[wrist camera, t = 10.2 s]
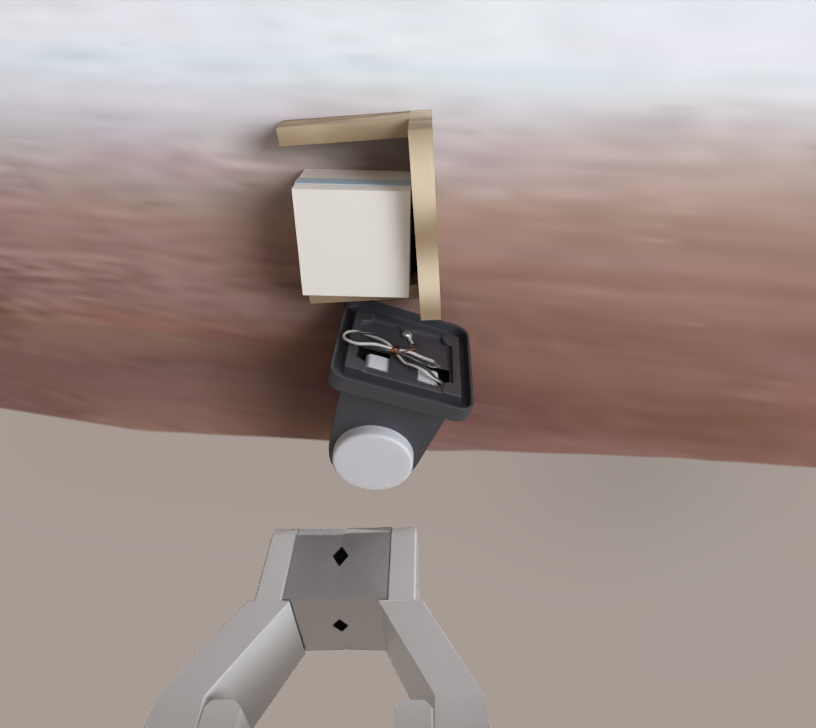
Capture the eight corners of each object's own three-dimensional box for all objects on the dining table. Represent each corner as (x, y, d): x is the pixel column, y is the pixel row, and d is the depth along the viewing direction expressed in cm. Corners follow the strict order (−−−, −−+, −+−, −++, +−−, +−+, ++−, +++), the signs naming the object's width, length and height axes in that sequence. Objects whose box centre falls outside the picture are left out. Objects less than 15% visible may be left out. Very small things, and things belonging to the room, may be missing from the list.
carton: (304, 167, 41) (290, 188, 37) (412, 169, 41) (411, 190, 37) (313, 267, 46) (302, 295, 42) (410, 269, 46) (409, 298, 42)
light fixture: (318, 397, 54) (296, 484, 46) (350, 285, 47) (330, 365, 38) (423, 424, 56) (421, 513, 48) (471, 321, 48) (479, 405, 40)
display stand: (283, 120, 39) (263, 140, 34) (431, 109, 39) (432, 128, 34) (315, 290, 47) (302, 326, 42) (439, 283, 46) (441, 319, 41)
